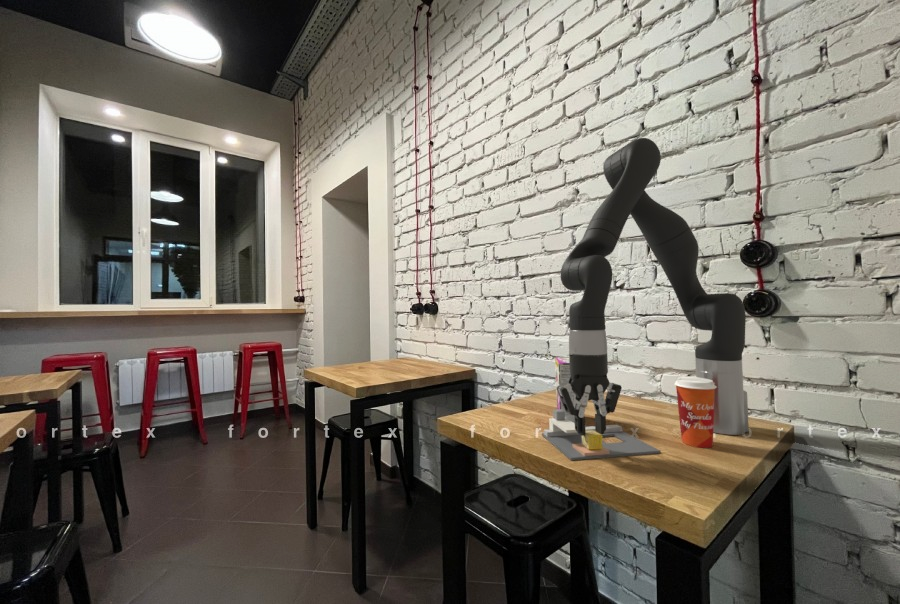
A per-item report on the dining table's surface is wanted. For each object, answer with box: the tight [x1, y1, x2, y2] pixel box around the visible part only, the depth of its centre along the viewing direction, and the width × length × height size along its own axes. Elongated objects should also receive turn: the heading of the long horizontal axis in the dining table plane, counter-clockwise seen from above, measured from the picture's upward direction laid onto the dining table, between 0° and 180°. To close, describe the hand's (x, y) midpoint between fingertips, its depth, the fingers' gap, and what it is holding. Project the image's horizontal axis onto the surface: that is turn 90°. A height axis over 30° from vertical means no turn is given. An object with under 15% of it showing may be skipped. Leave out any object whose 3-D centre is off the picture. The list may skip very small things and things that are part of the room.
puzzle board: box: [541, 424, 661, 461], centre depth 79 cm, size 20×15×2 cm
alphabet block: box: [582, 430, 603, 450], centre depth 74 cm, size 3×3×3 cm
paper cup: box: [673, 376, 717, 449], centre depth 78 cm, size 8×8×14 cm
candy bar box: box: [554, 356, 575, 423], centre depth 96 cm, size 11×5×16 cm, turn 168°
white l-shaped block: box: [548, 408, 577, 433], centre depth 81 cm, size 4×9×5 cm, turn 8°
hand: (590, 433), depth 74 cm, fingers open, 3 cm apart
